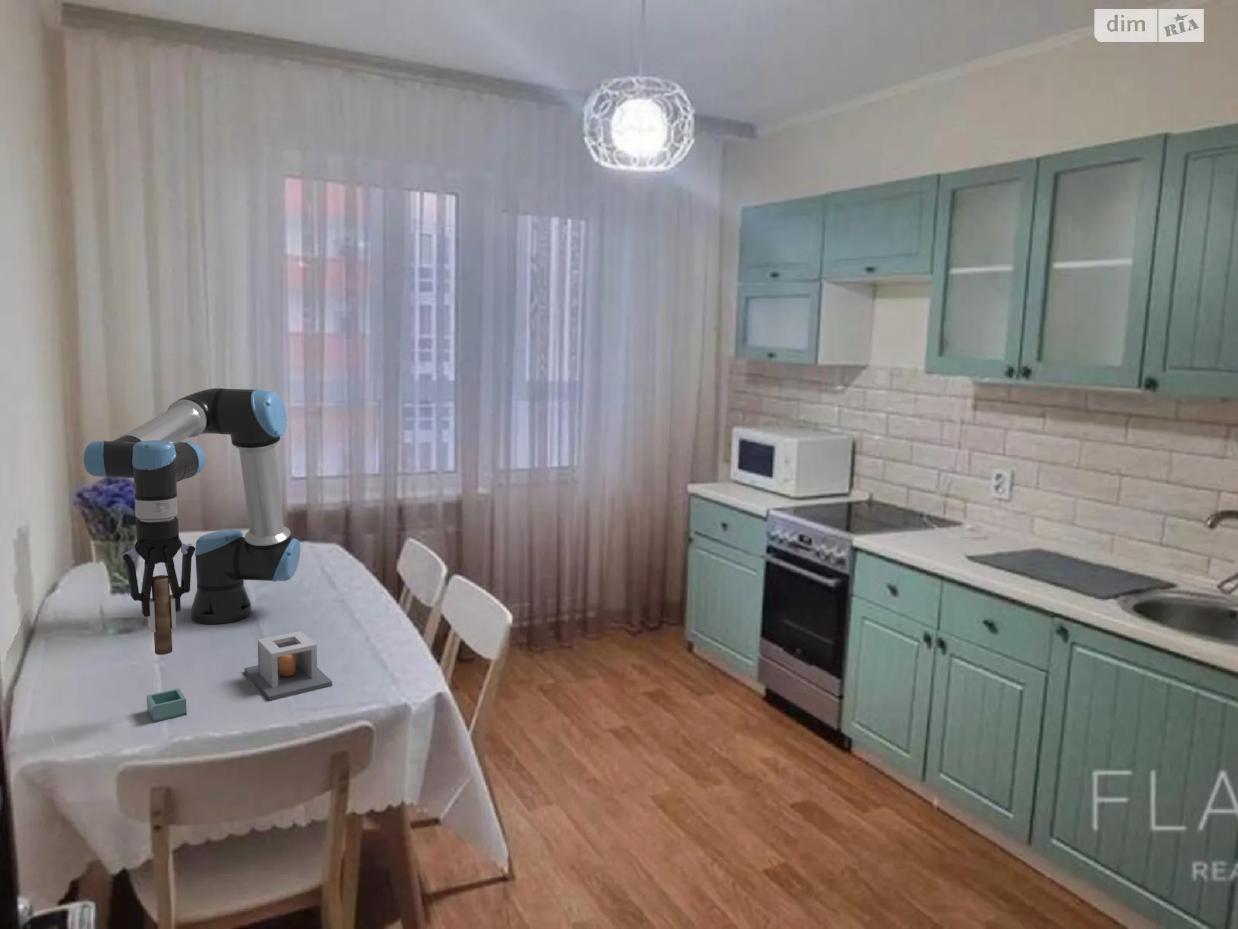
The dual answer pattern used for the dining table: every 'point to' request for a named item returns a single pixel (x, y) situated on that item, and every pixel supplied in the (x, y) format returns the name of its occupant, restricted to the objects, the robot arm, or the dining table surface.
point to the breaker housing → (268, 666)
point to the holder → (166, 705)
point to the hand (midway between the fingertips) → (162, 628)
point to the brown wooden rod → (162, 614)
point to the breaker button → (287, 665)
